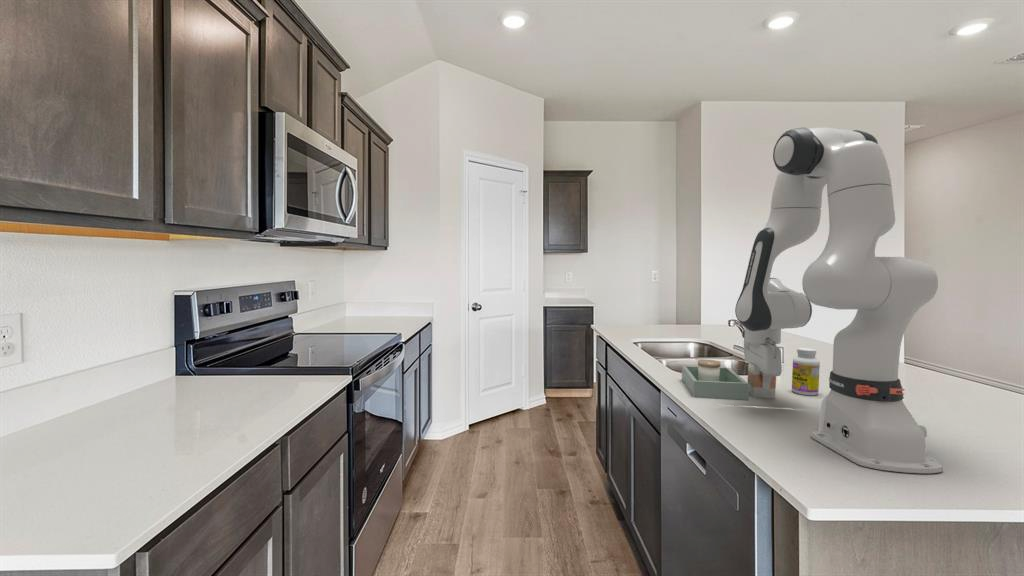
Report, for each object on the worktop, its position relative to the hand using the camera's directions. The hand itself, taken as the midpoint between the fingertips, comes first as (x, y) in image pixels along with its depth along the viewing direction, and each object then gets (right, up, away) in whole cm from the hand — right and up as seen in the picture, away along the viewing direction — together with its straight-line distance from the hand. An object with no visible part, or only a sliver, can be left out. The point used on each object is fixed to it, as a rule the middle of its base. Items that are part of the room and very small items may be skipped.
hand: (761, 384), depth 133 cm
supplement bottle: (+15, -4, +5) cm, 16 cm away
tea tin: (0, -3, 0) cm, 3 cm away
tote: (-11, -3, +7) cm, 13 cm away
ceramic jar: (-10, -2, +11) cm, 15 cm away
